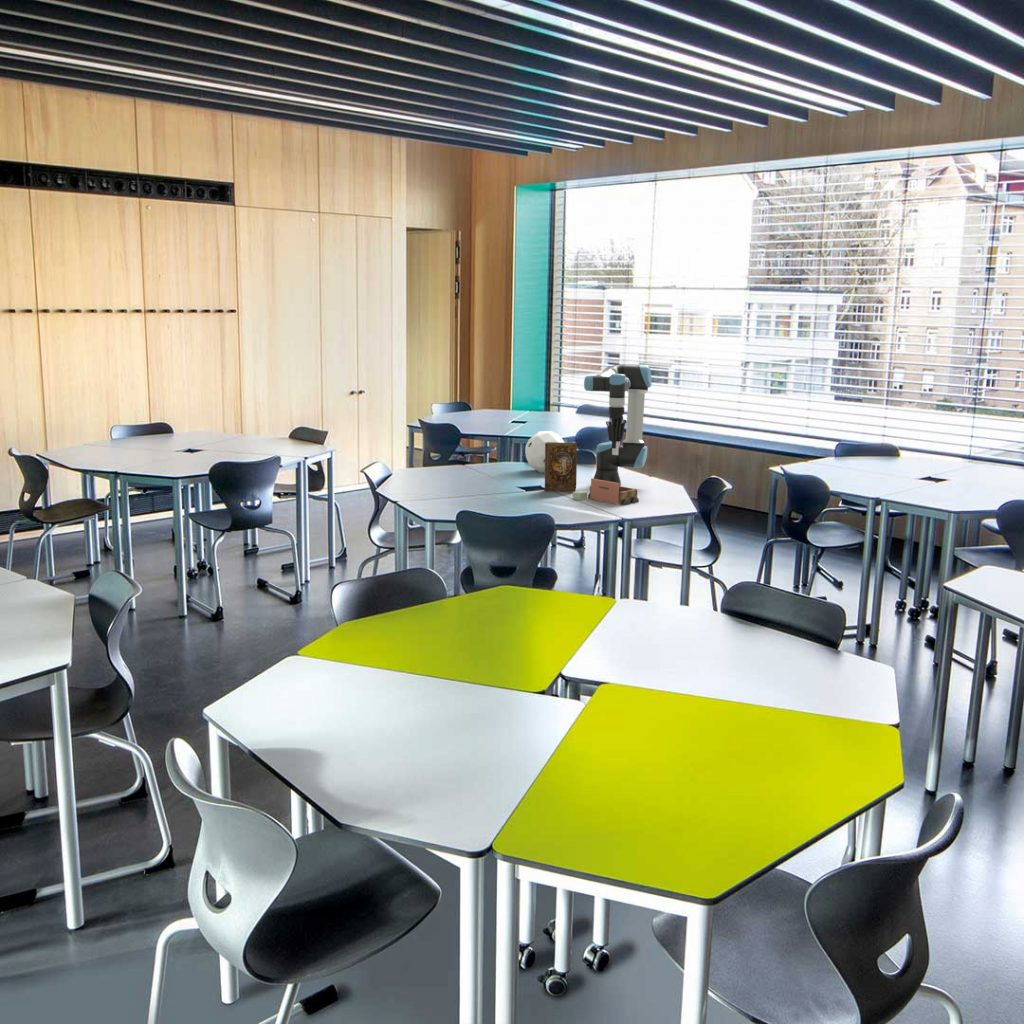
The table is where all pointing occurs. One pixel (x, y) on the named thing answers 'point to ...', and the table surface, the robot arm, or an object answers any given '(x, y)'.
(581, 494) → the block
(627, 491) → the wooden toy wagon
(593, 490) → the tailgate
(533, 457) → the geometric sculpture
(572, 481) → the book
